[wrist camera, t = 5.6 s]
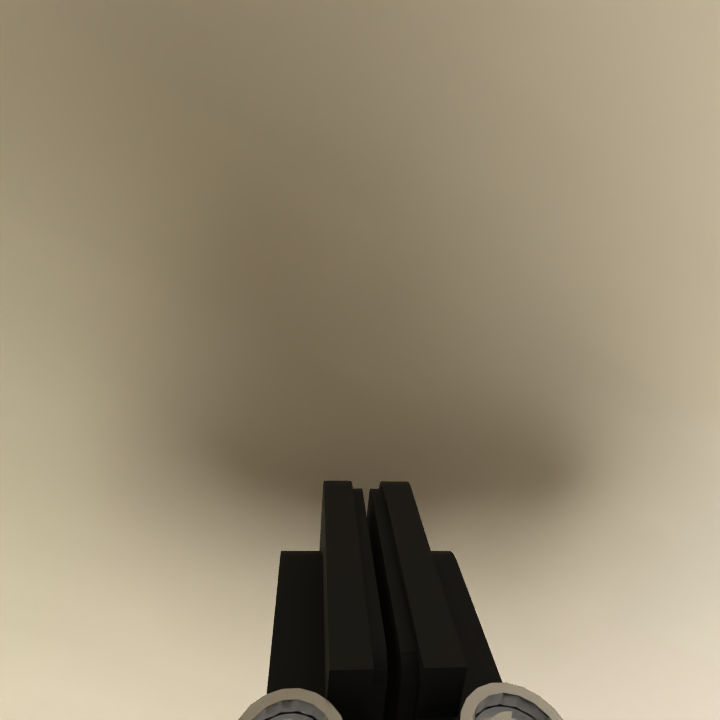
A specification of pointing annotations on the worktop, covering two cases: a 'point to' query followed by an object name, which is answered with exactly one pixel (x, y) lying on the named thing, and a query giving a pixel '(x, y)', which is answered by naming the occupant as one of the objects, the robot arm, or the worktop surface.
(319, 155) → the worktop surface
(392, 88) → the worktop surface
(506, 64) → the worktop surface
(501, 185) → the worktop surface
